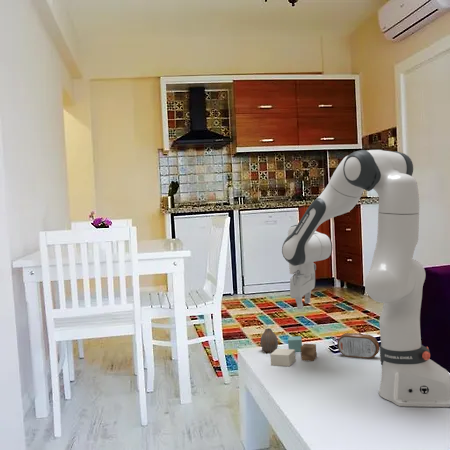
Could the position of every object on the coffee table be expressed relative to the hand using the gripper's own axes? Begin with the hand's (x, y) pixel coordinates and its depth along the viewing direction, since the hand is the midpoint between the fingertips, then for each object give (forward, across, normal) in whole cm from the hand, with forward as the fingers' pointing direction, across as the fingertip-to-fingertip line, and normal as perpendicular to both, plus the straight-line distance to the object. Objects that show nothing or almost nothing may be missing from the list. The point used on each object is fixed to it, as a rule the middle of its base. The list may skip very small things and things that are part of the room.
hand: (304, 305), depth 187 cm
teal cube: (+20, +9, +7) cm, 23 cm away
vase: (+20, +7, +17) cm, 28 cm away
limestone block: (+20, -6, +7) cm, 22 cm away
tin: (+20, +5, -18) cm, 27 cm away
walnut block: (+20, 0, -1) cm, 20 cm away
